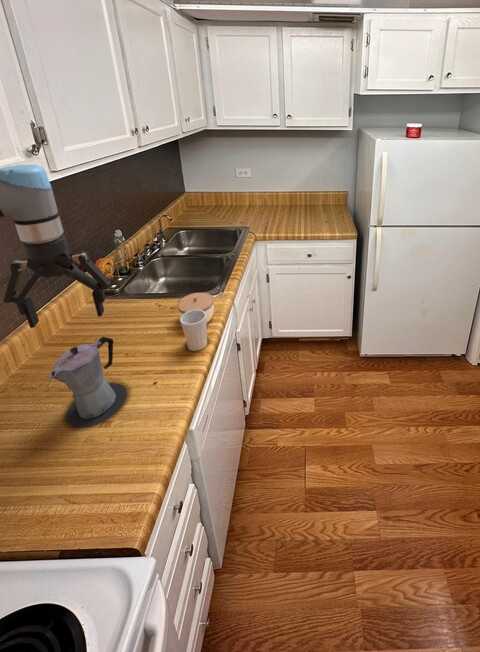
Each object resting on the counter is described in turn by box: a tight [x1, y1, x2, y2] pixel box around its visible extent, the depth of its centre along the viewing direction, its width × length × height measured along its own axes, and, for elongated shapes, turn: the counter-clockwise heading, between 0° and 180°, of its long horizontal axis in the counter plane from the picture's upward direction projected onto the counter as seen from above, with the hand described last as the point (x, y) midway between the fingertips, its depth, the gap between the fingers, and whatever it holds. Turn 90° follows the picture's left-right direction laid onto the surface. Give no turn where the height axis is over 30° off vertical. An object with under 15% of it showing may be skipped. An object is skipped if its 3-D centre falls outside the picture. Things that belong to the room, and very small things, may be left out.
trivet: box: [66, 382, 128, 428], centre depth 90 cm, size 14×14×1 cm
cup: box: [179, 310, 208, 352], centre depth 110 cm, size 8×8×12 cm
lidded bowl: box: [177, 292, 215, 324], centre depth 123 cm, size 13×13×11 cm
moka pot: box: [48, 336, 116, 418], centre depth 87 cm, size 10×15×20 cm, turn 159°
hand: (69, 318), depth 80 cm, fingers open, 13 cm apart
